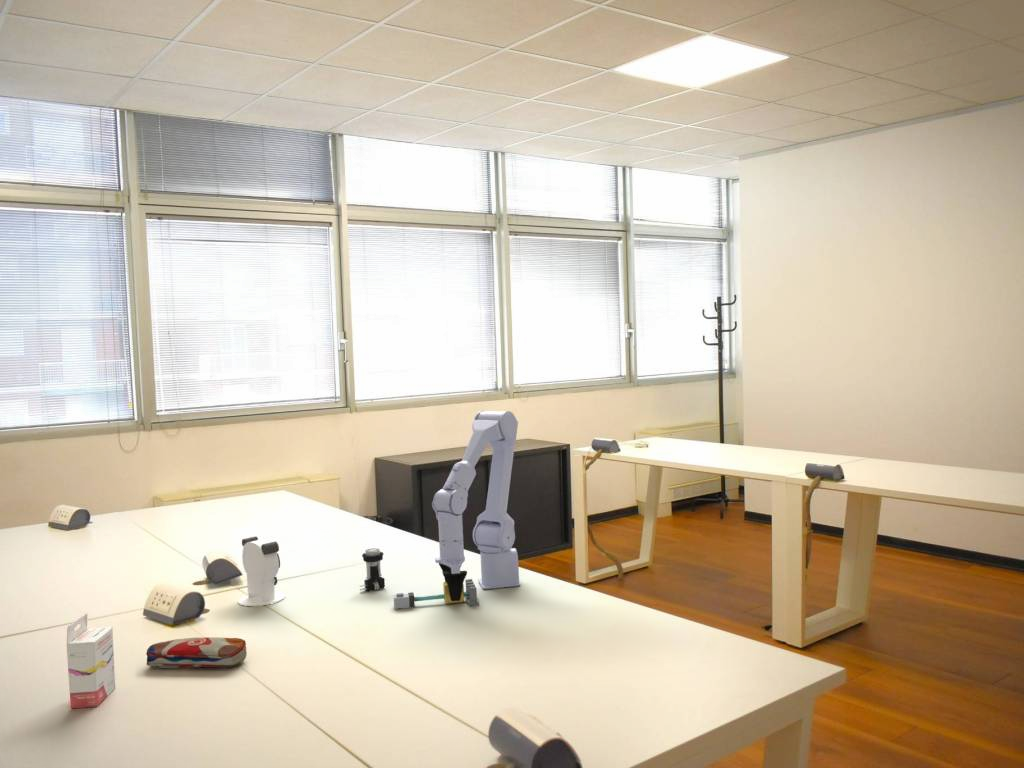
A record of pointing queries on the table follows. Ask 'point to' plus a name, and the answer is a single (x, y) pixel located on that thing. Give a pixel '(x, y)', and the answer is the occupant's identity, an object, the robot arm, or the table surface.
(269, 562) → the panda figurine
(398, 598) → the connector
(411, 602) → the band
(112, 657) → the ink cartridge box
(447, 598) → the marker sleeve
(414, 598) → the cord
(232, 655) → the pencil case
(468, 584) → the cable comb
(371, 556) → the push button
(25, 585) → the table surface
